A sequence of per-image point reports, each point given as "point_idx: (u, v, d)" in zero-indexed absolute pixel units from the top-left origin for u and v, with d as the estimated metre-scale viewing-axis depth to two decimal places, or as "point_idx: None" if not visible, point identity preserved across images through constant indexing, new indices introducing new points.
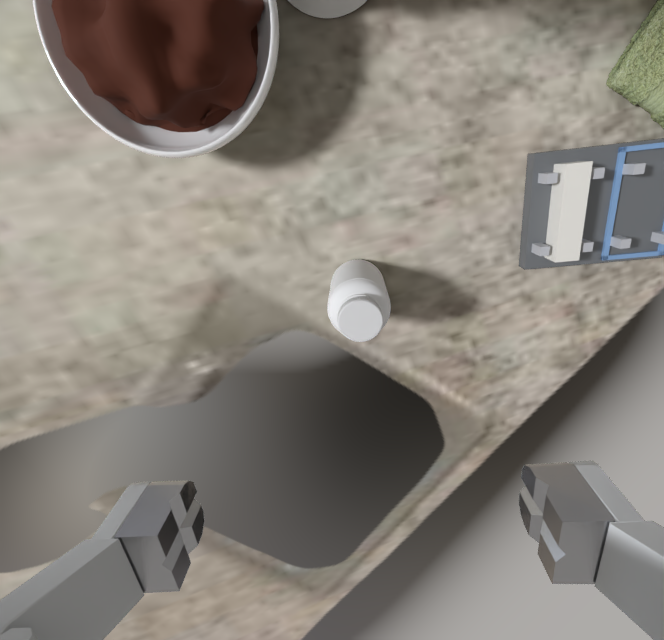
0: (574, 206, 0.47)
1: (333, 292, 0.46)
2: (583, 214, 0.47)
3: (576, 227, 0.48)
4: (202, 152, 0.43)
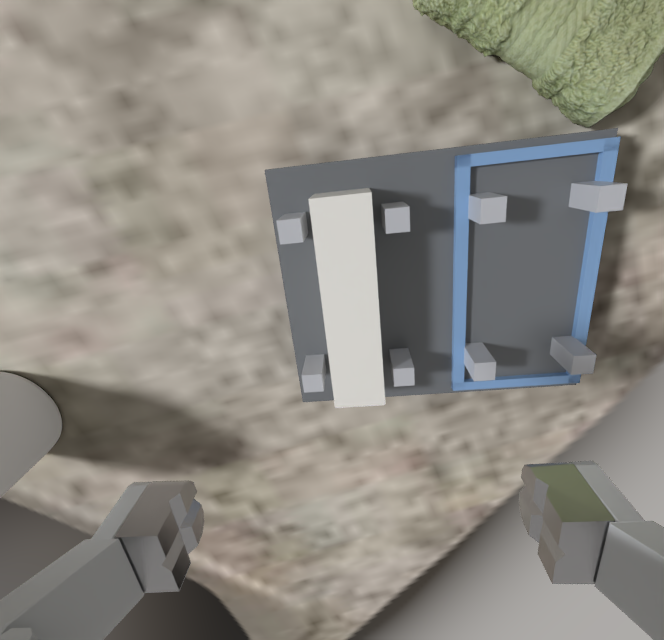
0: (350, 295, 0.20)
1: None
2: (374, 313, 0.20)
3: (364, 340, 0.21)
4: None
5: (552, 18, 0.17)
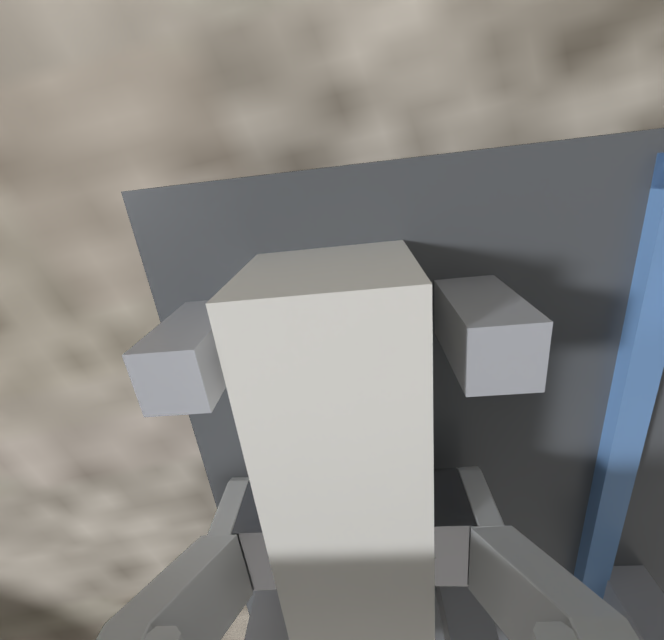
0: (352, 555, 0.07)
1: None
2: (421, 595, 0.07)
3: None
4: None
5: None
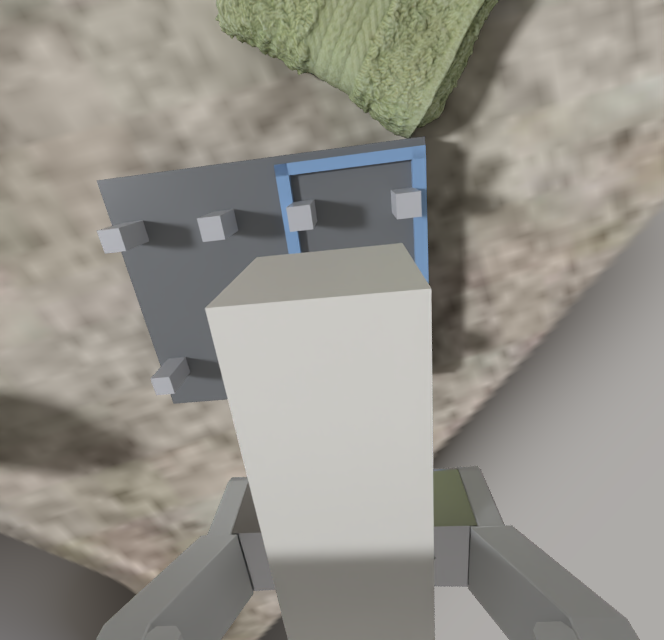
0: (351, 559, 0.07)
1: None
2: (421, 598, 0.07)
3: None
4: None
5: (342, 39, 0.18)
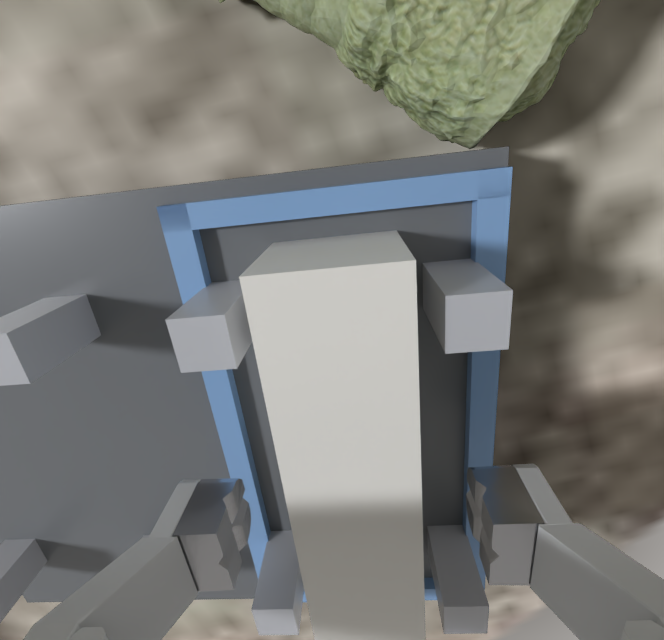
0: (354, 491, 0.08)
1: None
2: (411, 527, 0.09)
3: (386, 573, 0.09)
4: None
5: None
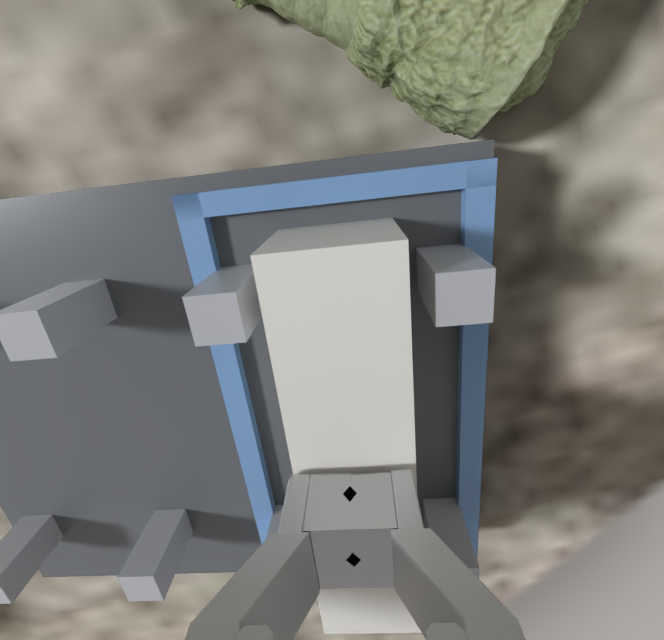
0: (353, 455, 0.09)
1: None
2: None
3: None
4: None
5: None
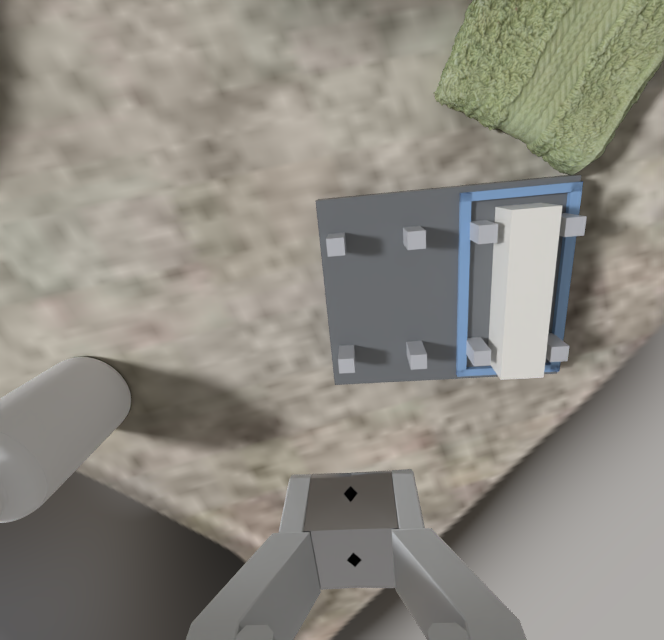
0: (530, 285, 0.25)
1: None
2: (548, 300, 0.25)
3: (535, 322, 0.26)
4: None
5: (537, 106, 0.24)
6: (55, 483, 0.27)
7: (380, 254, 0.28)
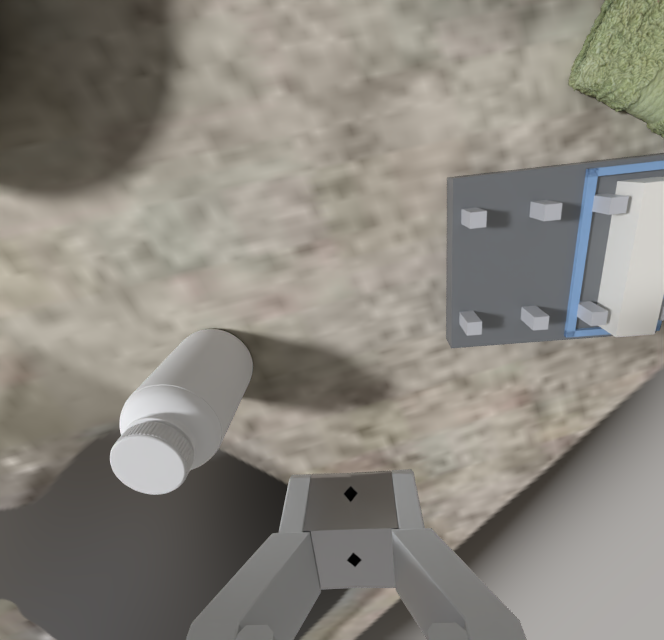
0: (653, 251, 0.28)
1: (124, 405, 0.29)
2: None
3: (654, 284, 0.29)
4: None
5: None
6: (223, 437, 0.31)
7: (507, 226, 0.31)
